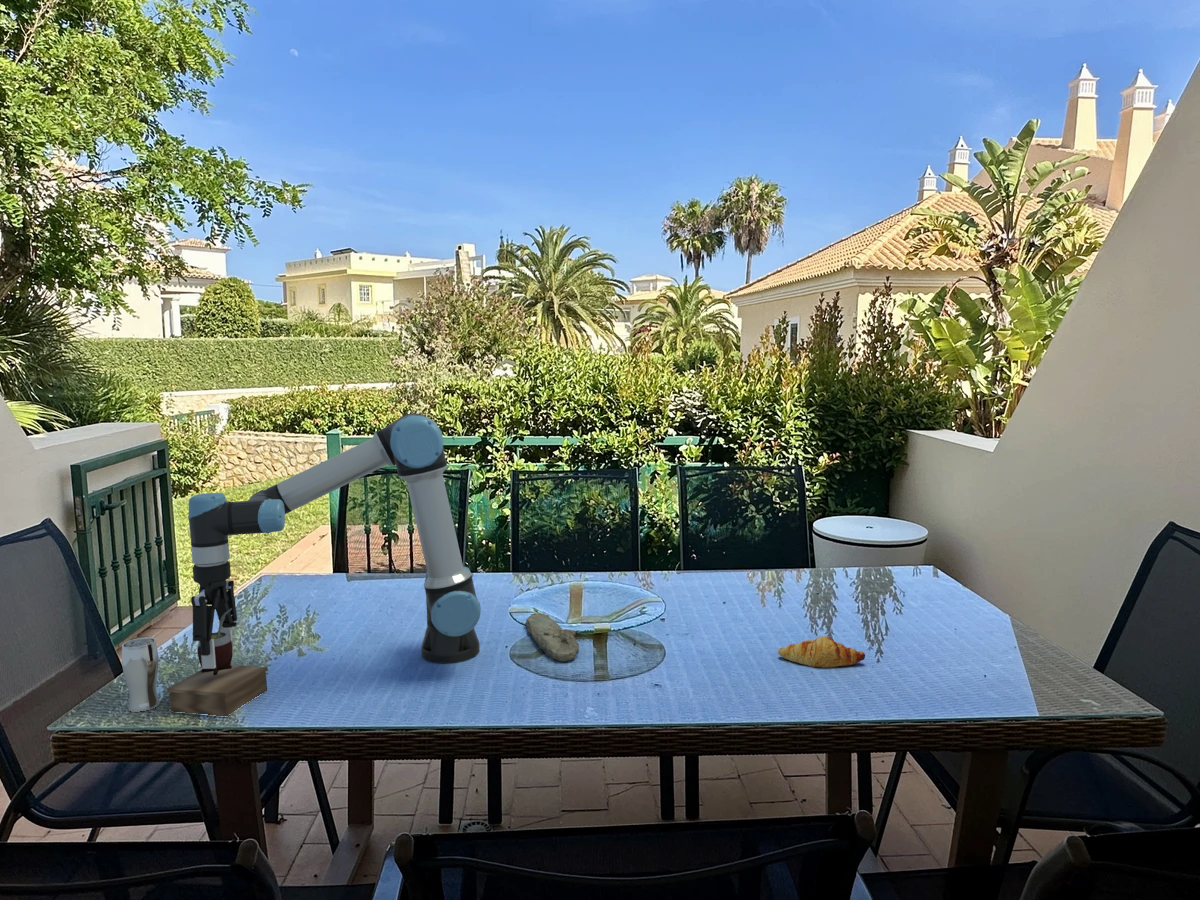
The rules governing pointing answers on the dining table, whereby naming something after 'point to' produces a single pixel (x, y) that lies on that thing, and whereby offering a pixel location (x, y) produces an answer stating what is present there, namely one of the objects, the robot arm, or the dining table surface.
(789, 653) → the croissant
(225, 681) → the walnut box
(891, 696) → the dining table surface
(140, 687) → the beer glass
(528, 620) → the elongated rock
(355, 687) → the dining table surface
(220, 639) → the mate gourd
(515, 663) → the dining table surface
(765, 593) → the dining table surface
